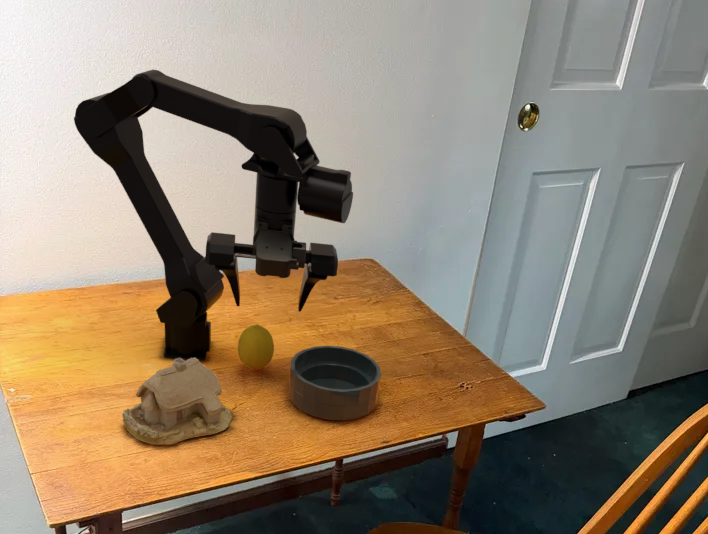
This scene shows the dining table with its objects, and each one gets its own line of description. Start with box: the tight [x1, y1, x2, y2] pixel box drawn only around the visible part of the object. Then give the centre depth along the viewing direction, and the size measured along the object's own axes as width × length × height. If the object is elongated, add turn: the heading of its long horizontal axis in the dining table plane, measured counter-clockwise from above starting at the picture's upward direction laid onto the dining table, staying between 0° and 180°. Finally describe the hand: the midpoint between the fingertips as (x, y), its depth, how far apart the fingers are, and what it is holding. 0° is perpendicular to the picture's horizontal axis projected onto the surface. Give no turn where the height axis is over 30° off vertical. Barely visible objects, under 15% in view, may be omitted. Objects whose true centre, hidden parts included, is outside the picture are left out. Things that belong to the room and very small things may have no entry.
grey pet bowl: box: [288, 345, 382, 421], centre depth 120 cm, size 14×14×6 cm
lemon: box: [237, 323, 275, 372], centre depth 122 cm, size 6×6×8 cm
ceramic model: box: [121, 358, 233, 445], centre depth 107 cm, size 14×11×10 cm
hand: (269, 307), depth 119 cm, fingers open, 9 cm apart
